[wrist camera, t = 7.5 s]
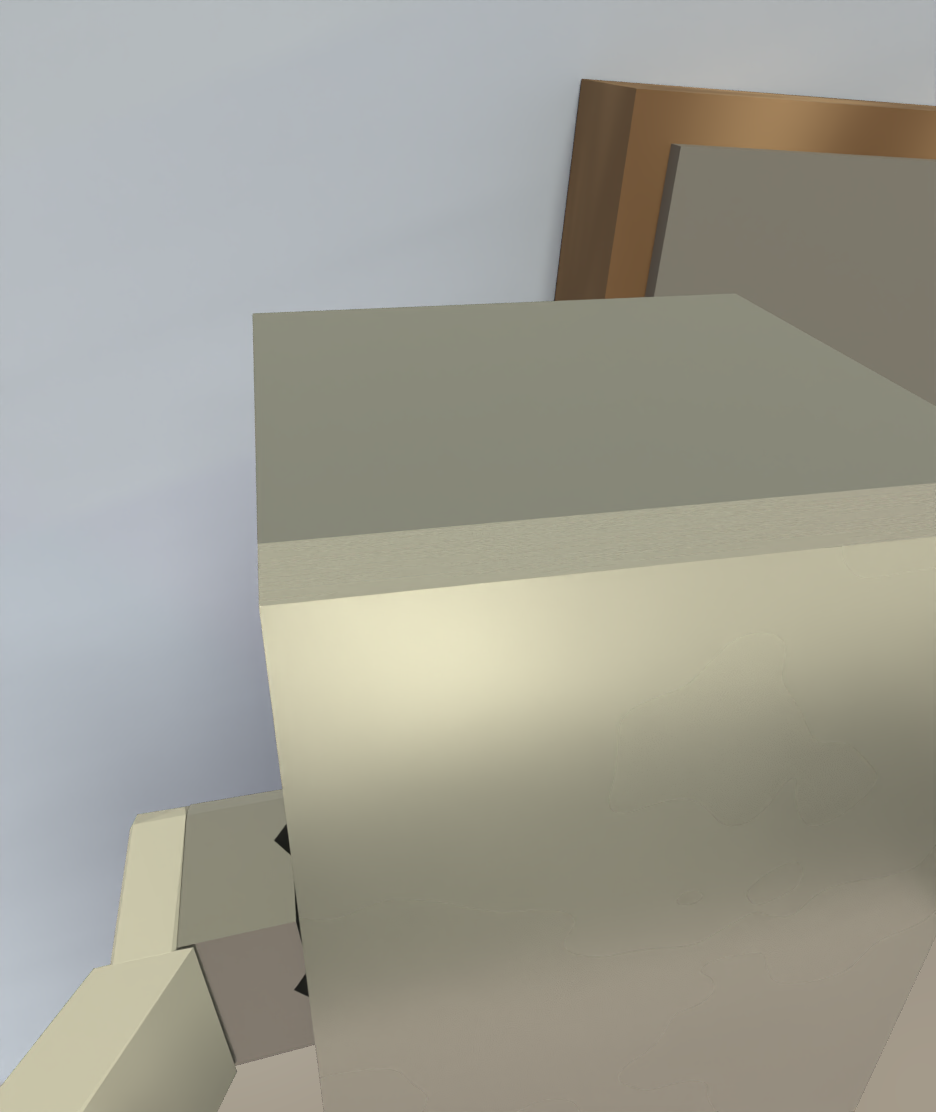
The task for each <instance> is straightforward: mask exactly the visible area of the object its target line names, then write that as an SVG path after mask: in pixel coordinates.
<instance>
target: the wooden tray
mask: <svg viewBox="0 0 936 1112" xmlns="http://www.w3.org/2000/svg"><path fill="white" fill-rule="evenodd" d="M735 293H736V294H737V295H739V296H741V297H743V298H744V299H746V300H748V301H750V302H752V303H753V304H755V305H757V306H759V307H760V308H762V309H764V310H766V311H768V312H769V313H771V314H773V315H775V316H776V317H778V318H780V319H782V320H783V321H785V322H787V323H789V324H791V325H792V326H794V327H796V328H798V329H799V330H801V331H803V332H805V333H807V334H808V335H810V336H812V337H814V338H815V339H817V340H819V341H821V342H823V343H824V344H826V345H828V346H830V347H831V348H833V349H835V350H837V351H839V352H840V353H842V354H844V355H846V356H847V357H849V358H851V359H853V360H855V361H856V362H858V363H860V364H862V365H863V366H865V367H867V368H869V369H871V370H872V371H874V372H876V373H878V374H879V375H881V376H883V377H885V378H887V379H888V380H890V381H892V382H894V383H895V384H897V385H899V386H901V387H902V388H904V389H906V390H908V391H910V392H911V393H913V394H915V395H917V396H918V397H920V398H922V399H924V400H926V401H927V402H929V403H931V404H933V405H934V406H936V106H928V105H915V104H902V103H889V102H876V101H863V100H850V99H837V98H824V97H811V96H798V95H785V94H772V93H759V92H746V91H733V90H720V89H707V88H694V87H681V86H668V85H655V84H642V83H629V82H616V81H603V80H590V79H582V81H581V89H580V97H579V105H578V113H577V121H576V130H575V138H574V146H573V154H572V162H571V170H570V178H569V187H568V195H567V203H566V211H565V219H564V227H563V236H562V244H561V252H560V260H559V268H558V276H557V284H556V293H555V301H566V300H590V299H614V298H639V297H663V296H687V295H711V294H735Z"/></svg>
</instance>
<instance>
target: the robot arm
mask: <svg viewBox="0 0 936 1112" xmlns="http://www.w3.org/2000/svg"><path fill="white" fill-rule="evenodd" d="M311 1045H315V1039H314V1031H313V1023H312V1016H311V1008H310V1000H309V992H308V985H307V977H306V969H305V961H304V953H303V946H302V938H301V930H300V922H299V914H298V907H297V899H296V891H295V883H294V875H293V868H292V860H291V852H290V844H289V837H288V829H287V821H286V813H285V805H284V798H283V790H282V789H280V790H274V791H268V792H262V793H256V794H250V795H244V796H239V797H233V798H227V799H221V800H215V801H209V802H203V803H197V804H191V805H190V806H186V807H180V808H173V809H167V810H161V811H155V812H149V813H143V814H137V816H136V818H135V820H134V822H133V824H132V826H131V828H130V834H129V841H128V847H127V854H126V861H125V868H124V875H123V882H122V888H121V895H120V902H119V909H118V916H117V923H116V929H115V936H114V943H113V950H112V957H111V964H110V965H106V966H102V967H98V968H94V969H93V970H92V971H91V972H90V974H89V975H88V976H87V977H86V979H85V980H84V981H83V983H82V984H81V985H80V986H79V988H78V989H77V990H76V991H75V993H74V994H73V995H72V997H71V998H70V999H69V1000H68V1002H67V1003H66V1004H65V1005H64V1007H63V1008H62V1009H61V1010H60V1012H59V1013H58V1014H57V1016H56V1017H55V1018H54V1019H53V1021H52V1022H51V1023H50V1024H49V1026H48V1027H47V1028H46V1030H45V1031H44V1032H43V1033H42V1035H41V1036H40V1037H39V1038H38V1040H37V1041H36V1042H35V1044H34V1045H33V1046H32V1047H31V1049H30V1050H29V1051H28V1052H27V1054H26V1055H25V1056H24V1058H23V1059H22V1060H21V1061H20V1063H19V1064H18V1065H17V1066H16V1068H15V1069H14V1070H13V1071H12V1073H11V1074H10V1075H9V1077H8V1078H7V1079H6V1080H5V1082H4V1083H3V1084H2V1085H1V1087H0V1112H217V1111H218V1109H219V1107H220V1105H221V1103H222V1101H223V1099H224V1097H225V1095H226V1093H227V1091H228V1089H229V1087H230V1085H231V1083H232V1081H233V1079H234V1077H235V1075H236V1072H237V1070H236V1067H235V1066H236V1065H240V1064H244V1063H247V1062H251V1061H255V1060H259V1059H263V1058H266V1057H270V1056H274V1055H278V1054H281V1053H285V1052H289V1051H292V1050H296V1049H300V1048H304V1047H308V1046H311Z"/></svg>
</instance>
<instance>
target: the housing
mask: <svg viewBox="0 0 936 1112" xmlns="http://www.w3.org/2000/svg"><path fill="white" fill-rule="evenodd" d="M253 355H254V401H255V447H256V493H257V539H258V585H259V611H260V619H261V626H262V634H263V642H264V650H265V657H266V665H267V673H268V681H269V689H270V696H271V704H272V712H273V720H274V728H275V735H276V743H277V751H278V759H279V766H280V774H281V782H282V790H283V798H284V805H285V813H286V821H287V829H288V837H289V844H290V852H291V860H292V868H293V875H294V883H295V891H296V899H297V907H298V914H299V922H300V930H301V938H302V946H303V953H304V961H305V969H306V977H307V985H308V992H309V1000H310V1008H311V1016H312V1023H313V1031H314V1039H315V1047H316V1054H317V1062H318V1070H319V1078H320V1085H321V1094H322V1101H323V1109H324V1112H855V1109H856V1107H857V1105H858V1103H859V1101H860V1099H861V1096H862V1094H863V1092H864V1090H865V1088H866V1086H867V1084H868V1081H869V1079H870V1077H871V1075H872V1073H873V1071H874V1069H875V1067H876V1064H877V1062H878V1060H879V1058H880V1056H881V1054H882V1051H883V1049H884V1047H885V1045H886V1043H887V1041H888V1039H889V1036H890V1034H891V1032H892V1030H893V1028H894V1026H895V1023H896V1021H897V1019H898V1017H899V1015H900V1013H901V1011H902V1009H903V1006H904V1004H905V1002H906V1000H907V998H908V996H909V993H910V991H911V989H912V987H913V985H914V983H915V981H916V978H917V976H918V974H919V972H920V970H921V968H922V966H923V963H924V961H925V959H926V957H927V955H928V953H929V950H930V948H931V946H932V944H933V942H934V939H935V937H936V406H934V405H933V404H931V403H929V402H927V401H926V400H924V399H922V398H920V397H918V396H917V395H915V394H913V393H911V392H910V391H908V390H906V389H904V388H902V387H901V386H899V385H897V384H895V383H894V382H892V381H890V380H888V379H887V378H885V377H883V376H881V375H879V374H878V373H876V372H874V371H872V370H871V369H869V368H867V367H865V366H863V365H862V364H860V363H858V362H856V361H855V360H853V359H851V358H849V357H847V356H846V355H844V354H842V353H840V352H839V351H837V350H835V349H833V348H831V347H830V346H828V345H826V344H824V343H823V342H821V341H819V340H817V339H815V338H814V337H812V336H810V335H808V334H807V333H805V332H803V331H801V330H799V329H798V328H796V327H794V326H792V325H791V324H789V323H787V322H785V321H783V320H782V319H780V318H778V317H776V316H775V315H773V314H771V313H769V312H768V311H766V310H764V309H762V308H760V307H759V306H757V305H755V304H753V303H752V302H750V301H748V300H746V299H744V298H743V297H741V296H739V295H737V294H736V293H735V294H711V295H687V296H663V297H639V298H614V299H590V300H566V301H542V302H518V303H494V304H470V305H446V306H422V307H398V308H374V309H350V310H326V311H302V312H278V313H254V314H253Z"/></svg>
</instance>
